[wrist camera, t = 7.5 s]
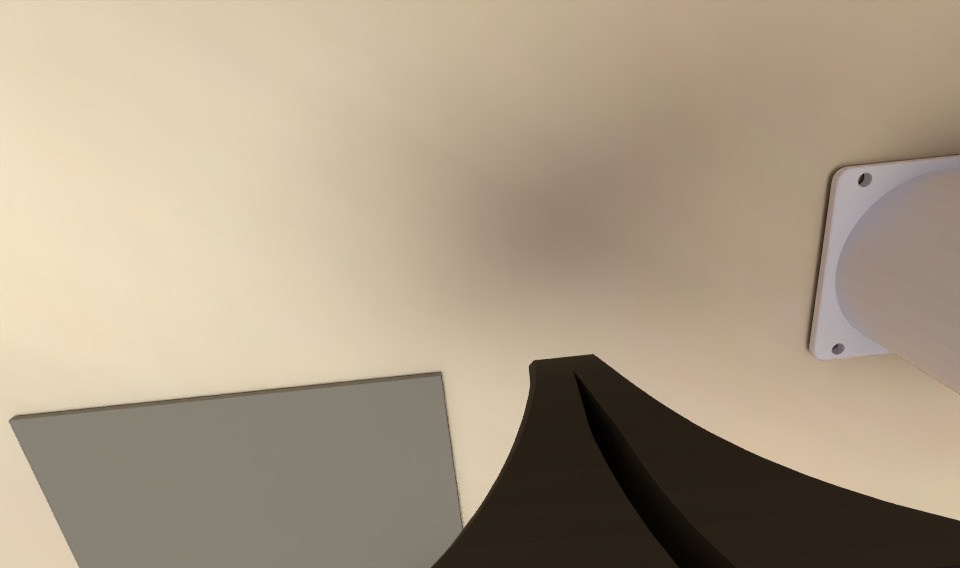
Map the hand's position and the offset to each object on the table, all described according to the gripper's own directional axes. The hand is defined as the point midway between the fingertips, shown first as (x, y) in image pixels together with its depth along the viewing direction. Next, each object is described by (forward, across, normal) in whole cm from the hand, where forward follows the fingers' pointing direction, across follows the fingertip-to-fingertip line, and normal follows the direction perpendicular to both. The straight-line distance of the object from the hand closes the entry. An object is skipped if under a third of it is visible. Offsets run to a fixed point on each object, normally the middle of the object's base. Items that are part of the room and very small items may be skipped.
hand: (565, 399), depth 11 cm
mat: (+10, +12, +15) cm, 22 cm away
